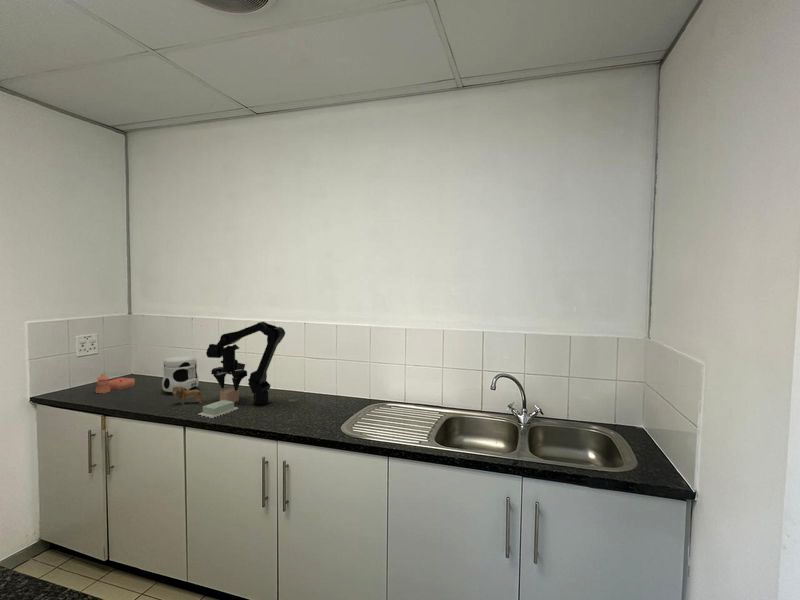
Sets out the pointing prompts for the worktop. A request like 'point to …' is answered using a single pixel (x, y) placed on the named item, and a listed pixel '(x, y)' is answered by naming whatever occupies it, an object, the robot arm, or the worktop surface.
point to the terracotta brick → (229, 395)
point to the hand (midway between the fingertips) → (229, 389)
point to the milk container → (180, 373)
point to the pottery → (113, 384)
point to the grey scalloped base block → (218, 408)
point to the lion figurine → (186, 394)
